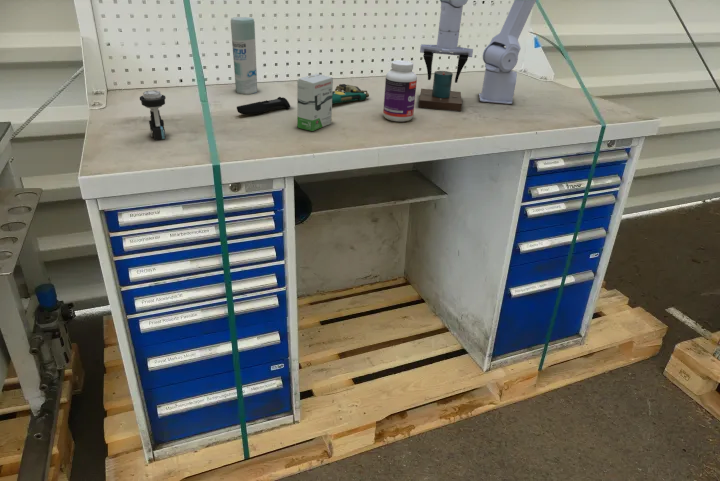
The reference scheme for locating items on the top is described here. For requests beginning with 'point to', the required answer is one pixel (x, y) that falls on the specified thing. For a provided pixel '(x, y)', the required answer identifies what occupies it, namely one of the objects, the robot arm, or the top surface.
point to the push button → (154, 112)
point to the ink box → (314, 101)
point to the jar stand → (440, 101)
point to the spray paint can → (244, 54)
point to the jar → (442, 84)
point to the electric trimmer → (263, 106)
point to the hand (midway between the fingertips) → (442, 80)
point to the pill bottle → (400, 92)
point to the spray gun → (348, 94)
